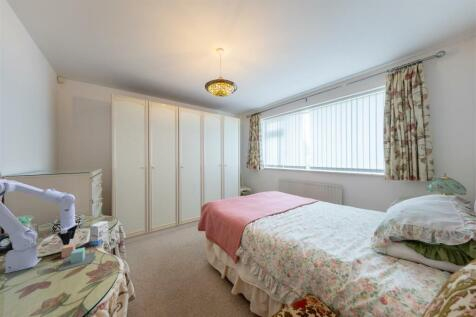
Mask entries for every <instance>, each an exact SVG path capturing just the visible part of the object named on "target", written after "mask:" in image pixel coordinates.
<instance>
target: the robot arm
mask: <svg viewBox="0 0 476 317" xmlns="http://www.w3.org/2000/svg"><path fill="white" fill-rule="evenodd" d="M11 192H20V193H24V194H27V195H28V194H29V195H33V196H37V197H39V198H40V200H42V201H45V202H49V203H53V204H58V205H59V206H60V209H59V211H60V212H59V213H60V214H59V215H60V218H59V219H60V227H59V229H60V232H57V237H59V239H60V241H61V243H62V245H63V246H64V245H69V244H71V243H70V242H71V240H73V239H74V238H75V234H76V231H77V228H78V226H79V222H76V207H75V206H76V204H75V200H76V197H75V196H74V194H73V193H67V192H61V191H59V190H56V189H55V188H47V189H41V188H38V187H35V186H33V185H29V184H25V183H23V182H19V181H17V180H12V179H11V180H9V179H8V178H0V227H1V228H2V229H3V230H4V231H5V232H6V233H7V235H8V237H9V241H10V242H11V247H12V249H11V250H9V251H7V253H6V255H5V257H4V258H5V259H4V261H5V262H4V263H5V264H4V266H5V271H4V274H8V273H12V272H17V271H22V270H26V269H30V268H34V267H36V265H37V264H38V263H40V261H41V260H42V257H39V258H38V242H36V240H37V239H38V237H39V236H38V232H36V231H34V230H32V229H30V228H29V227H27V226H24V224H23V223H21V221H20V220H19V218H17V217H16V216H15V215H14V214H13V213H12V212H11V211H10V210H9V208H8V207H7V206H6V205H5V204H4V203H3V202H2V201H1V200H2V198H3V196H4V195H5V194H6V193H11Z"/></svg>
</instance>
